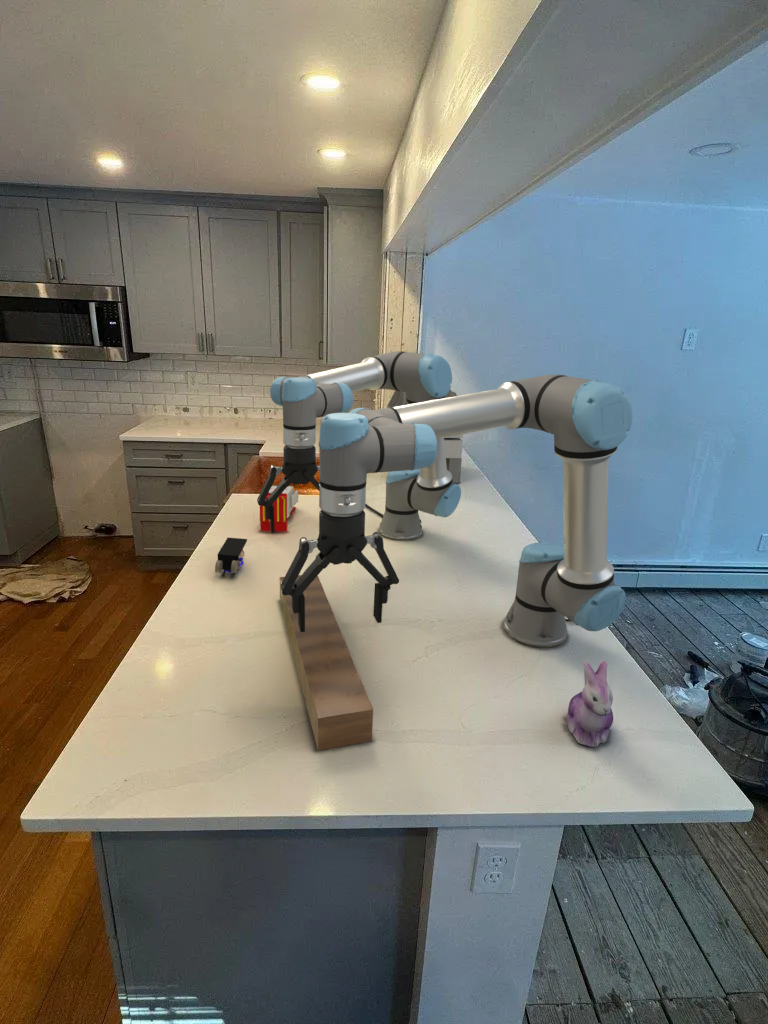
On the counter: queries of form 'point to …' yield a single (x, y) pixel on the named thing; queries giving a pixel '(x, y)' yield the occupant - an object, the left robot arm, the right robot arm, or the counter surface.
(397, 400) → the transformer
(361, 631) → the counter surface
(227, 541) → the figurine character
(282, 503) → the toy
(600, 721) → the figurine
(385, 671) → the counter surface
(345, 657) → the wide beam
